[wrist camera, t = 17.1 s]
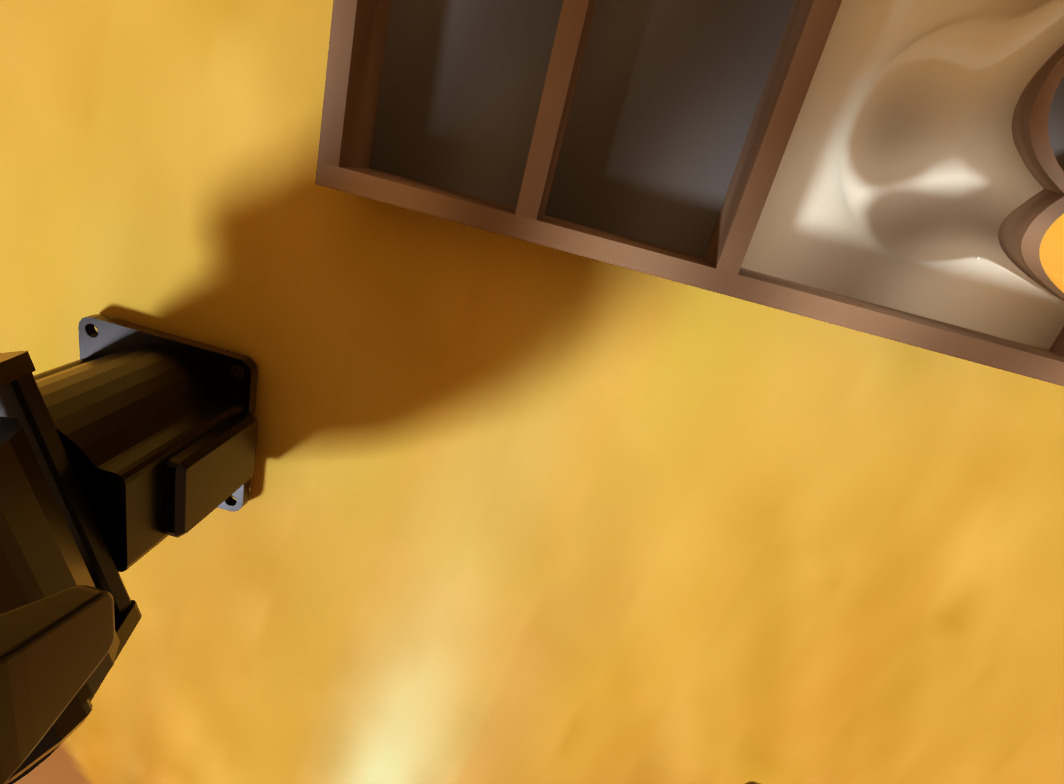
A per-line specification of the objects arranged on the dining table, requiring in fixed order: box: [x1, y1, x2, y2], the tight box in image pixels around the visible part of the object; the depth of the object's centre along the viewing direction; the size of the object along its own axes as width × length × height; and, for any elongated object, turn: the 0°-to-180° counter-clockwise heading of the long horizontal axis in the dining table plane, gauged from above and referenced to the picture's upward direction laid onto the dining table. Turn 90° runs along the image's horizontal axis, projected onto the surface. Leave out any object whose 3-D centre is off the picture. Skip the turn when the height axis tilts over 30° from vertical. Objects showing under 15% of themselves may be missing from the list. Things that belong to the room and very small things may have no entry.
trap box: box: [315, 0, 1064, 386], centre depth 15 cm, size 22×11×2 cm, turn 76°
